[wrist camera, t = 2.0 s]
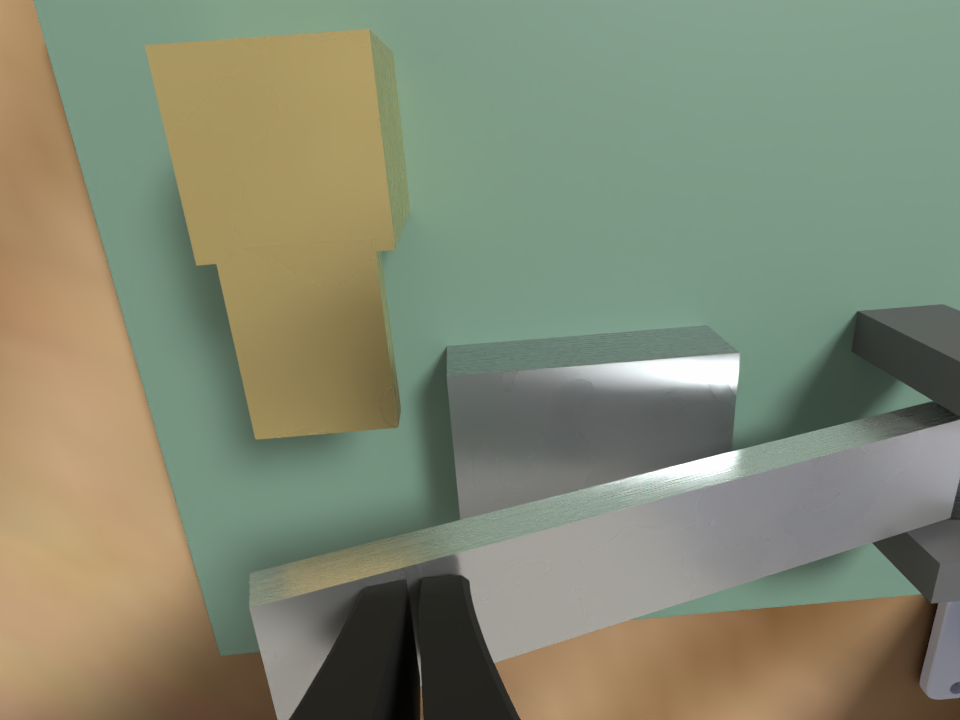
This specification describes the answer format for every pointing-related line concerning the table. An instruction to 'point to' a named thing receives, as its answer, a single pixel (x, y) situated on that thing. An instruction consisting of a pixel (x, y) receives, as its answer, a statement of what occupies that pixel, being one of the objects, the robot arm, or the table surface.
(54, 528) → the table surface
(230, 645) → the board
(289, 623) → the silver long flat bar
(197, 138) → the tan stepped block
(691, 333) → the brushed aluminum block
